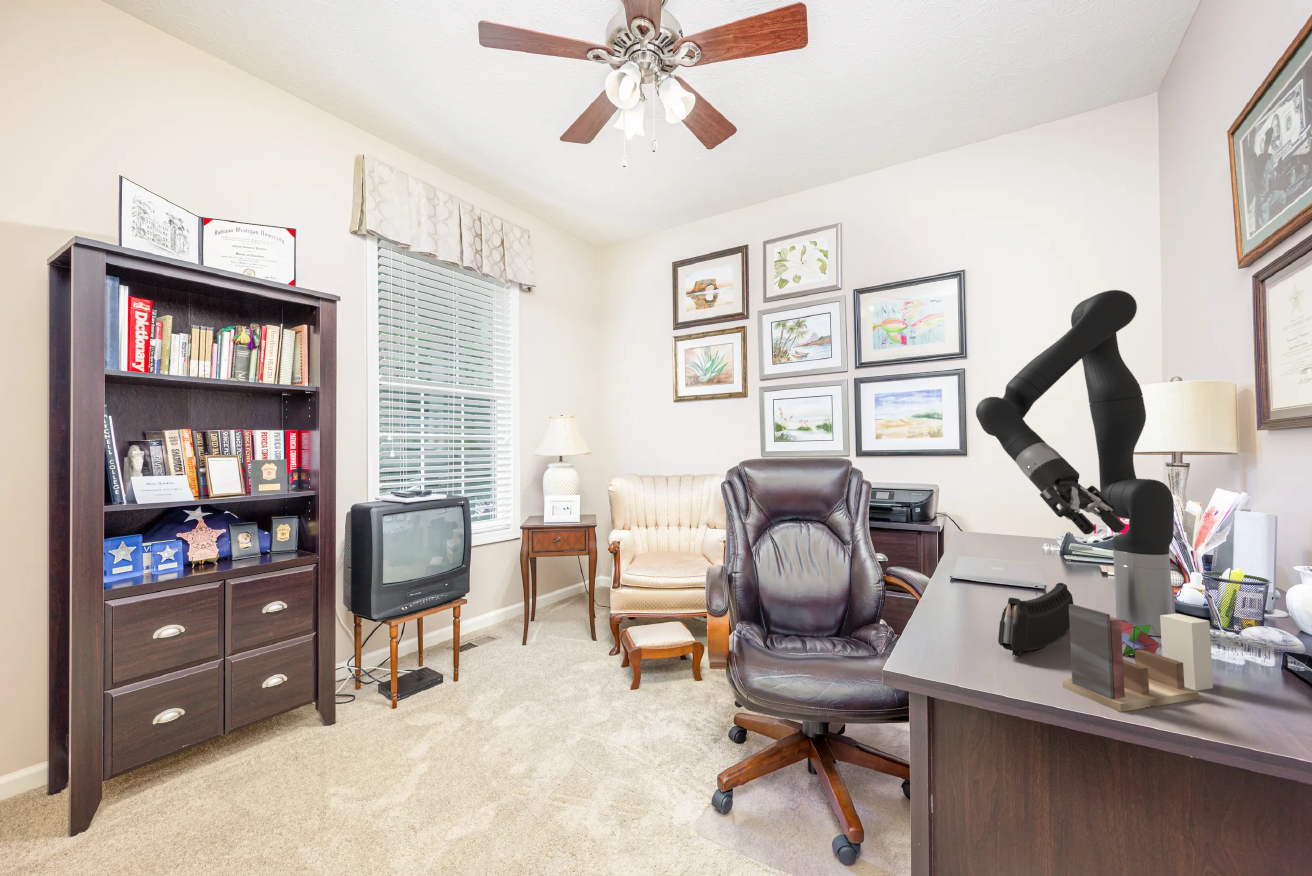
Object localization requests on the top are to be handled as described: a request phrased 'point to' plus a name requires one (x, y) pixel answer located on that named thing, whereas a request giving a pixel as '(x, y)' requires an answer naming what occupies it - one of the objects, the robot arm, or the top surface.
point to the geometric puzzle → (1137, 638)
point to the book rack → (1119, 666)
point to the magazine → (1035, 620)
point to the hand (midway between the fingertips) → (1106, 531)
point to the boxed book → (1188, 648)
